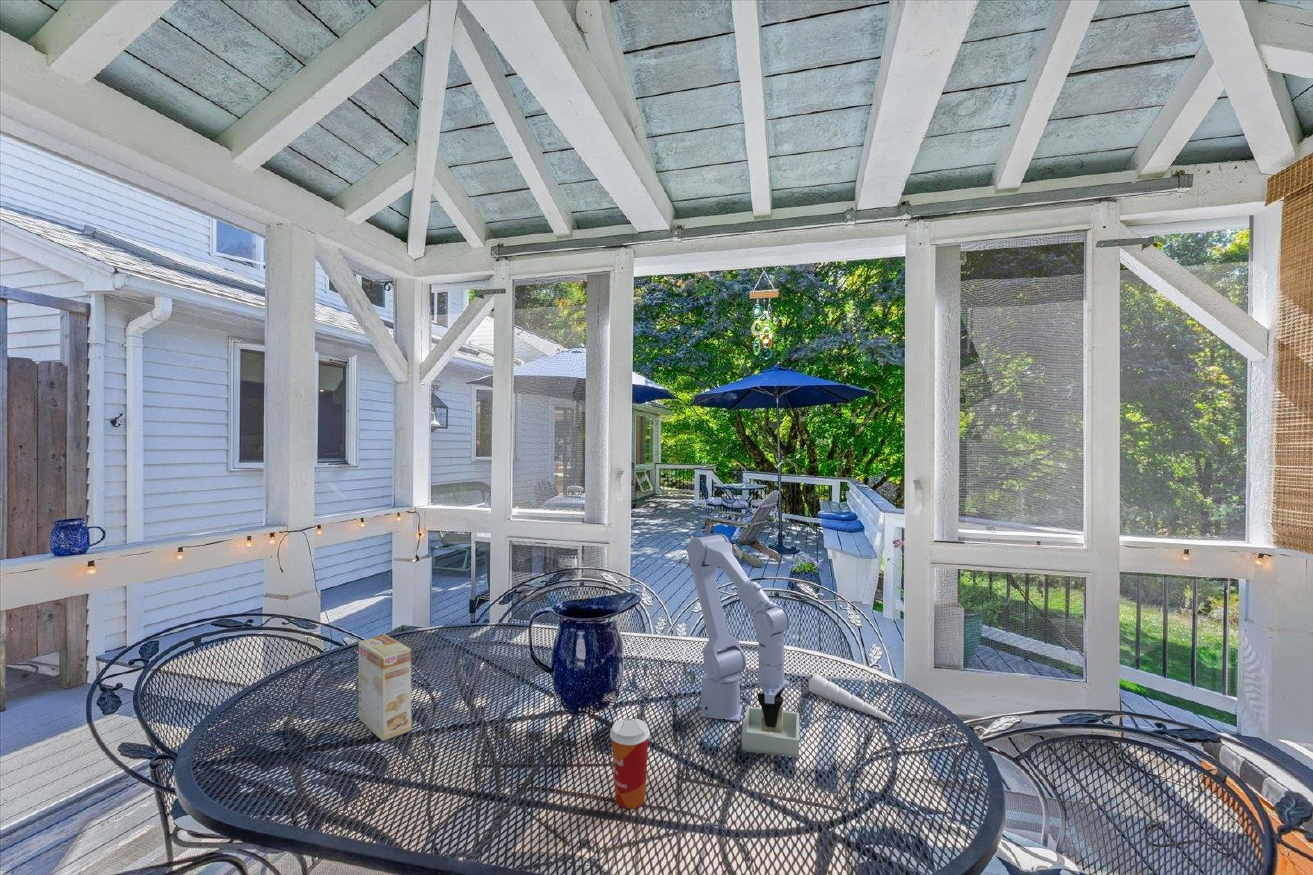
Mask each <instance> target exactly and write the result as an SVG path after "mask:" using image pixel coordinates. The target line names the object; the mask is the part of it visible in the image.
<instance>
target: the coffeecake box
mask: <svg viewBox="0 0 1313 875" xmlns="http://www.w3.org/2000/svg"><path fill="white" fill-rule="evenodd" d="M357 644H358V646H357V647H358V649H357V650H358V651H357V653H358V657H357V658H358V660H357V661H358V720H359V719H360V720H361V721H362V722H363V723H364V724H365V725H366V728H367V729H369V730H370V732H372V733H373V734H374V735H375V736H376V737H377V738H378V739H380V740H381V741H382V742H384V741H387V740H389V739H391V738H395V737H398V736H401V735H402V734H405V733H408V732H410V731H412V730H413V729H412V648H410V647H409V646H406V645H404V644H403V643H402V642H400V641H398V640H396V639H394V638H392V637H390V636H389V635H387V634H383V635H380V636H374V637H372V638H368V639H367V638H366V639H363V640H359V641H358V642H357ZM360 720H359V721H360ZM361 721H360V722H361ZM362 722H361V723H362ZM363 723H362V724H363ZM365 725H364V726H365Z"/></svg>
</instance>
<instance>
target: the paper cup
mask: <svg viewBox="0 0 1313 875" xmlns="http://www.w3.org/2000/svg"><path fill="white" fill-rule="evenodd" d="M650 735H651V732H650V729H649V726H648V724H647V722H645V721H644V720H643V719H640V718H634V719H633V718H626V719H624V718H622V719H619V720H617V721H616V722H614V724H613V725H612V726H611V730H610V732H609V737H610V739H611V747H612V748H611V749H612V750H611V751H612V765H613V766H612V767H613V780H614V781H613V782H614V795H615V796H614V798H615V802H616V804H617V805H618V806H619V807H620V808H622V809H626V810H634V809H638V808H639V807H641V806H643V804H644V803H645V800H646V784H647V769H648V768H647V767H648V747H649V737H650Z"/></svg>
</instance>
